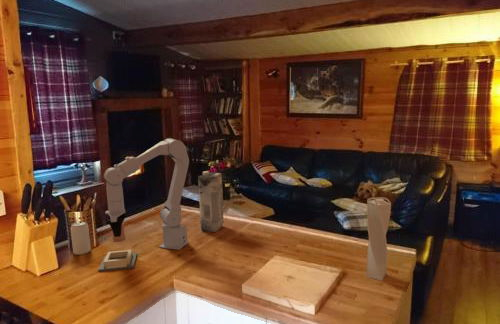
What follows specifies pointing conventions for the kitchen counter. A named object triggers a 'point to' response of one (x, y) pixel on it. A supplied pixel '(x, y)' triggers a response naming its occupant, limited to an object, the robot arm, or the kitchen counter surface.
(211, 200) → the juice carton
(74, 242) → the can
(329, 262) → the kitchen counter surface
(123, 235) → the tube
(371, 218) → the skyscraper
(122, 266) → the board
